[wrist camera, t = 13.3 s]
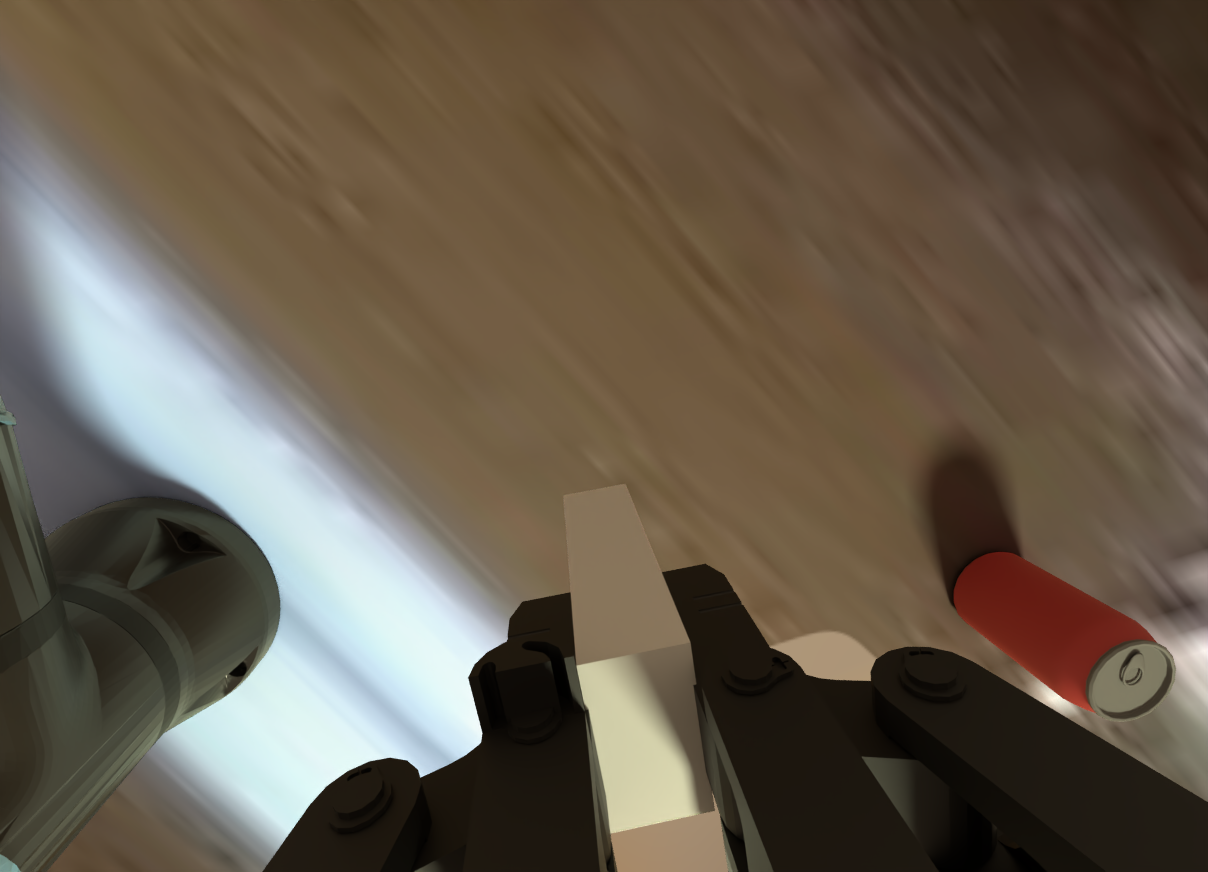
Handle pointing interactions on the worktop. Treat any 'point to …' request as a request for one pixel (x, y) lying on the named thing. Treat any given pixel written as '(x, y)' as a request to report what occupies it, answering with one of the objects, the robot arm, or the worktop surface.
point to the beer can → (1065, 637)
